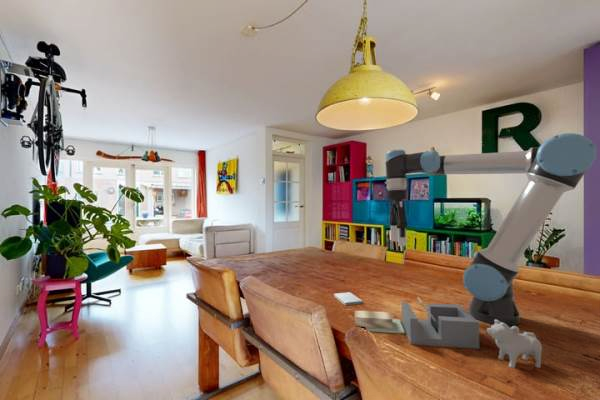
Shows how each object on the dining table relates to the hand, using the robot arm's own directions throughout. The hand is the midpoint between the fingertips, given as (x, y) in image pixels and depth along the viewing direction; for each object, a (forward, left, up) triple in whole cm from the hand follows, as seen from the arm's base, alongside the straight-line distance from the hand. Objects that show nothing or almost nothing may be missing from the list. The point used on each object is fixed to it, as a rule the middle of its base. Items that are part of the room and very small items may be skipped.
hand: (398, 243), depth 112 cm
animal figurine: (-23, +35, -26) cm, 49 cm away
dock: (-8, +22, -26) cm, 34 cm away
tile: (+11, +17, -25) cm, 32 cm away
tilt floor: (-6, +22, -20) cm, 30 cm away
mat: (+8, +17, -26) cm, 32 cm away
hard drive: (+20, -8, -26) cm, 34 cm away
